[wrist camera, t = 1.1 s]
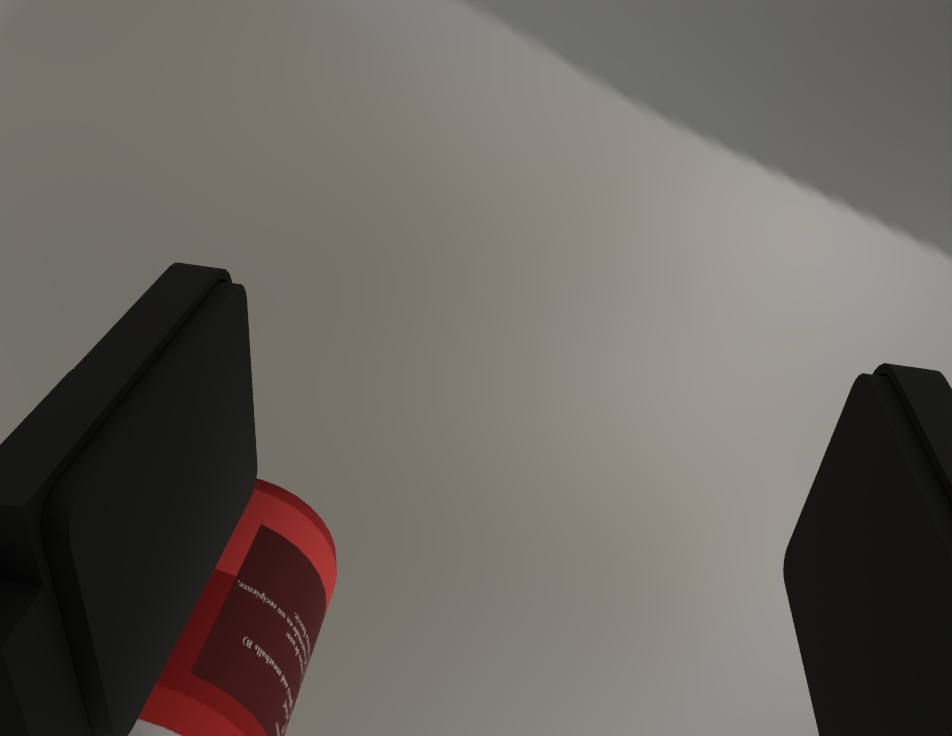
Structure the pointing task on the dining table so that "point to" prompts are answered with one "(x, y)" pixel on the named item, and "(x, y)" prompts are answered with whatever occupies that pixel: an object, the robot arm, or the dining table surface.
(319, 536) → the canned food
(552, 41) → the dining table surface
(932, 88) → the dining table surface
